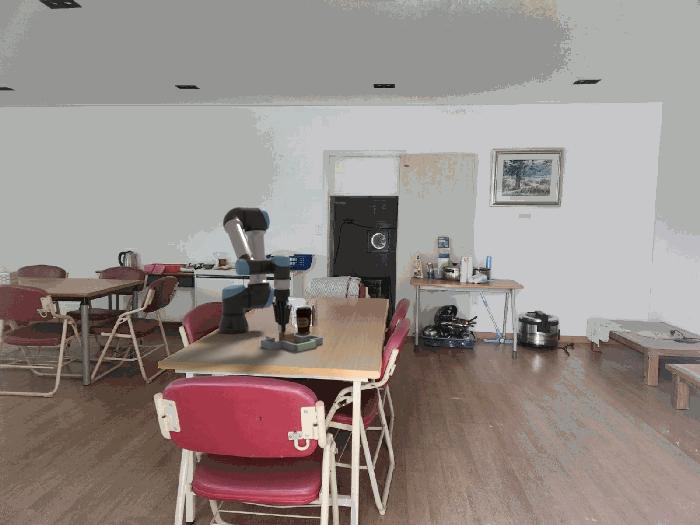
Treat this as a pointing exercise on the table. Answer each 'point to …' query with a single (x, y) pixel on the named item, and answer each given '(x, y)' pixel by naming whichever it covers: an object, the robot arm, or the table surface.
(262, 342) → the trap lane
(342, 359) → the table surface
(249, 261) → the robot arm
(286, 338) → the walnut block
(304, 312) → the coffee cup
